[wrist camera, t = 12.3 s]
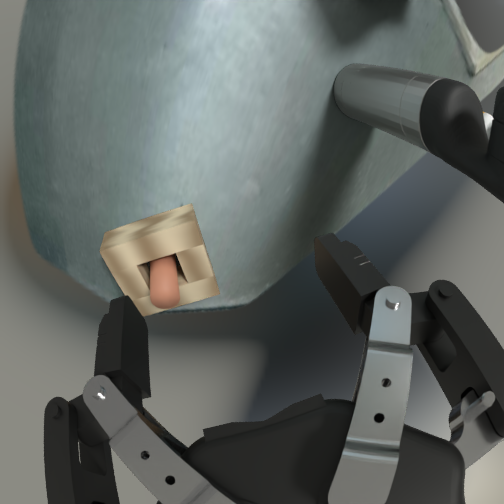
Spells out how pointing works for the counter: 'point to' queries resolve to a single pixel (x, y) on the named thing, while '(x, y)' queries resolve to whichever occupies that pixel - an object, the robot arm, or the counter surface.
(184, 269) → the socket block
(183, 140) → the counter surface
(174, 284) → the peg
